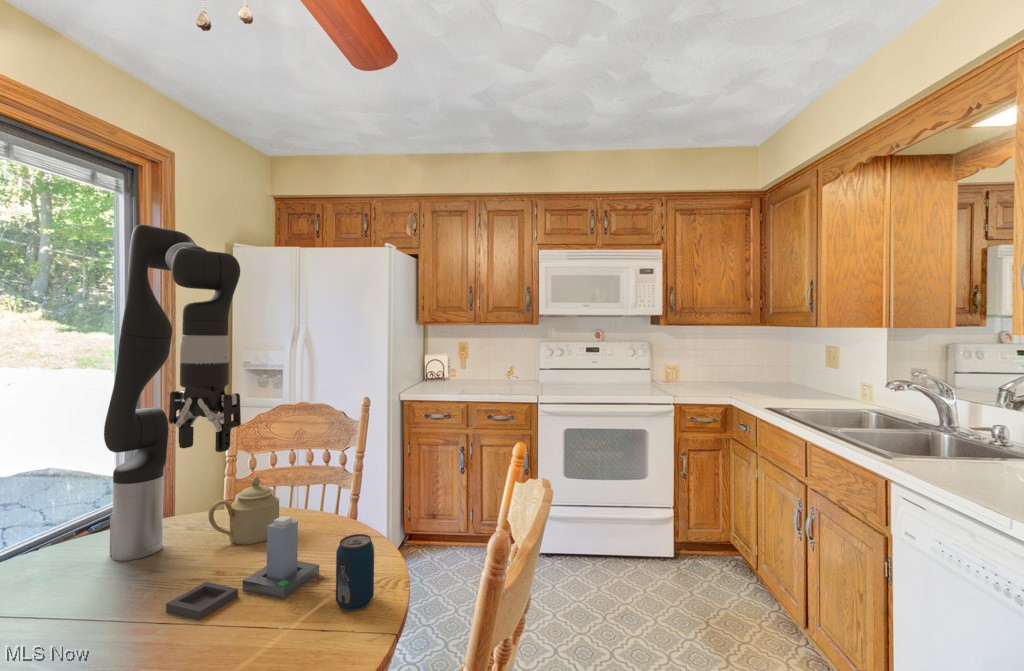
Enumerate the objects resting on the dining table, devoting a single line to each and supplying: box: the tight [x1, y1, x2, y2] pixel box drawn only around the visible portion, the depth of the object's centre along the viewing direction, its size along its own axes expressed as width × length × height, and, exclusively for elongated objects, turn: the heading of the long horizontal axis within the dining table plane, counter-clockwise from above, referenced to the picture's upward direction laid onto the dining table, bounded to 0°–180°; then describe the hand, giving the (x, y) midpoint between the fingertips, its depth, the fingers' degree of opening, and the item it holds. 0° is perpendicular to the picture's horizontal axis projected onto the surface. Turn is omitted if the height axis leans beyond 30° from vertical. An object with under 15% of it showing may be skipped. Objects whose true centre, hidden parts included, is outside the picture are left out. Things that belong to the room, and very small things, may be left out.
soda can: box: [335, 533, 375, 612], centre depth 91 cm, size 7×7×12 cm
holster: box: [165, 581, 239, 621], centre depth 89 cm, size 8×8×2 cm
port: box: [241, 560, 320, 600], centre depth 97 cm, size 10×10×3 cm
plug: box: [266, 515, 299, 581], centre depth 97 cm, size 4×4×13 cm
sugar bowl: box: [207, 476, 280, 545], centre depth 118 cm, size 15×11×15 cm
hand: (203, 449), depth 86 cm, fingers open, 8 cm apart
